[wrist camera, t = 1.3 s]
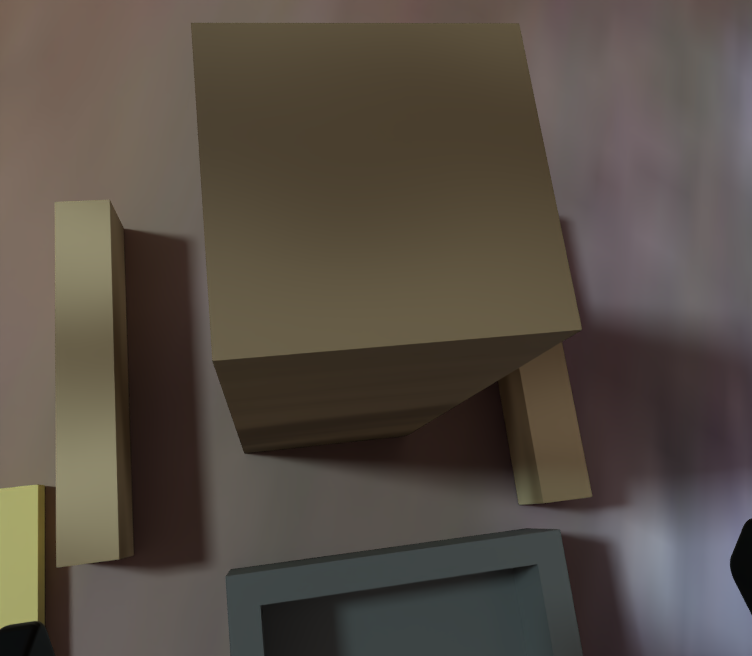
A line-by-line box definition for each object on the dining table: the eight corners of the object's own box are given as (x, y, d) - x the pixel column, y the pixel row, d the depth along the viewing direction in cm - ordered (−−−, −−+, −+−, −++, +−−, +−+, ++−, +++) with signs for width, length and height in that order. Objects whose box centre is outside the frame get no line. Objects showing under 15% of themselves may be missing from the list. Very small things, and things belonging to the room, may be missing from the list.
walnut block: (406, 435, 21) (581, 330, 9) (244, 453, 20) (212, 360, 9) (386, 284, 23) (518, 23, 11) (233, 295, 22) (191, 23, 10)
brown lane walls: (563, 499, 22) (592, 496, 20) (77, 562, 19) (56, 567, 17) (509, 208, 24) (530, 181, 22) (73, 230, 21) (54, 201, 20)
